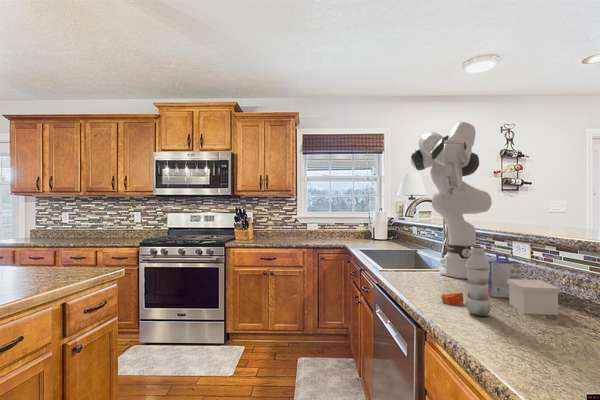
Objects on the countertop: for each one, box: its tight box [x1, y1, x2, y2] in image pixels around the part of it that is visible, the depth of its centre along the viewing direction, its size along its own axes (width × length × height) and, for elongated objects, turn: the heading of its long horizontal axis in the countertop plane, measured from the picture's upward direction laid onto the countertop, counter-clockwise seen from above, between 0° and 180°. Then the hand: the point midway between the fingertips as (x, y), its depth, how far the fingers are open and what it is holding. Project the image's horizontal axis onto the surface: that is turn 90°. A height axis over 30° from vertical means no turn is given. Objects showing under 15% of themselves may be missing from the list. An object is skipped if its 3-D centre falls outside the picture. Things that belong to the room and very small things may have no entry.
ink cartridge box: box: [488, 253, 523, 299], centre depth 111 cm, size 10×6×14 cm, turn 78°
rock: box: [440, 292, 465, 306], centre depth 105 cm, size 12×12×4 cm
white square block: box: [507, 279, 562, 316], centre depth 97 cm, size 10×10×8 cm
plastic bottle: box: [465, 245, 492, 317], centre depth 93 cm, size 6×7×20 cm
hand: (448, 185), depth 108 cm, fingers open, 8 cm apart
